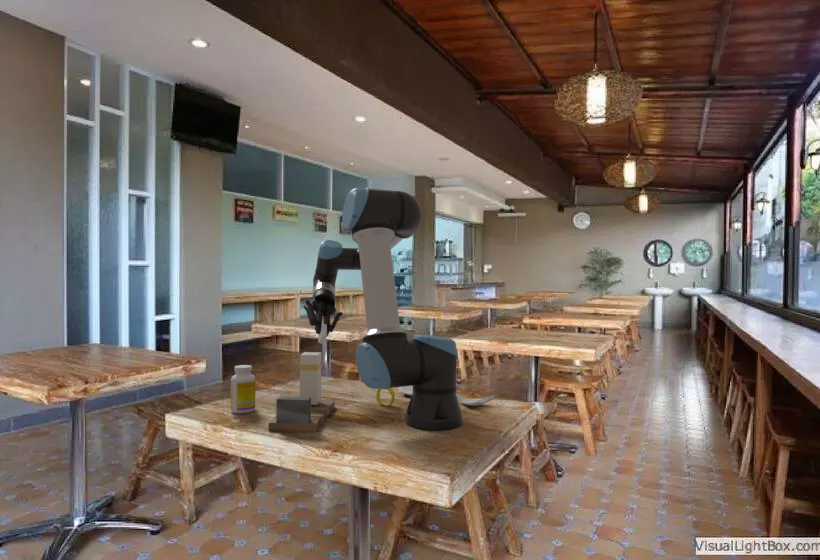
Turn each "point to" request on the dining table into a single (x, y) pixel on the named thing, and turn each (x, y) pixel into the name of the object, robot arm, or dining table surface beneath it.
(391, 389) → the yellow ring
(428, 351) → the robot arm
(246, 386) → the supplement bottle
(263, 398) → the dining table surface
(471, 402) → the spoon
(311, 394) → the banded white pillar
